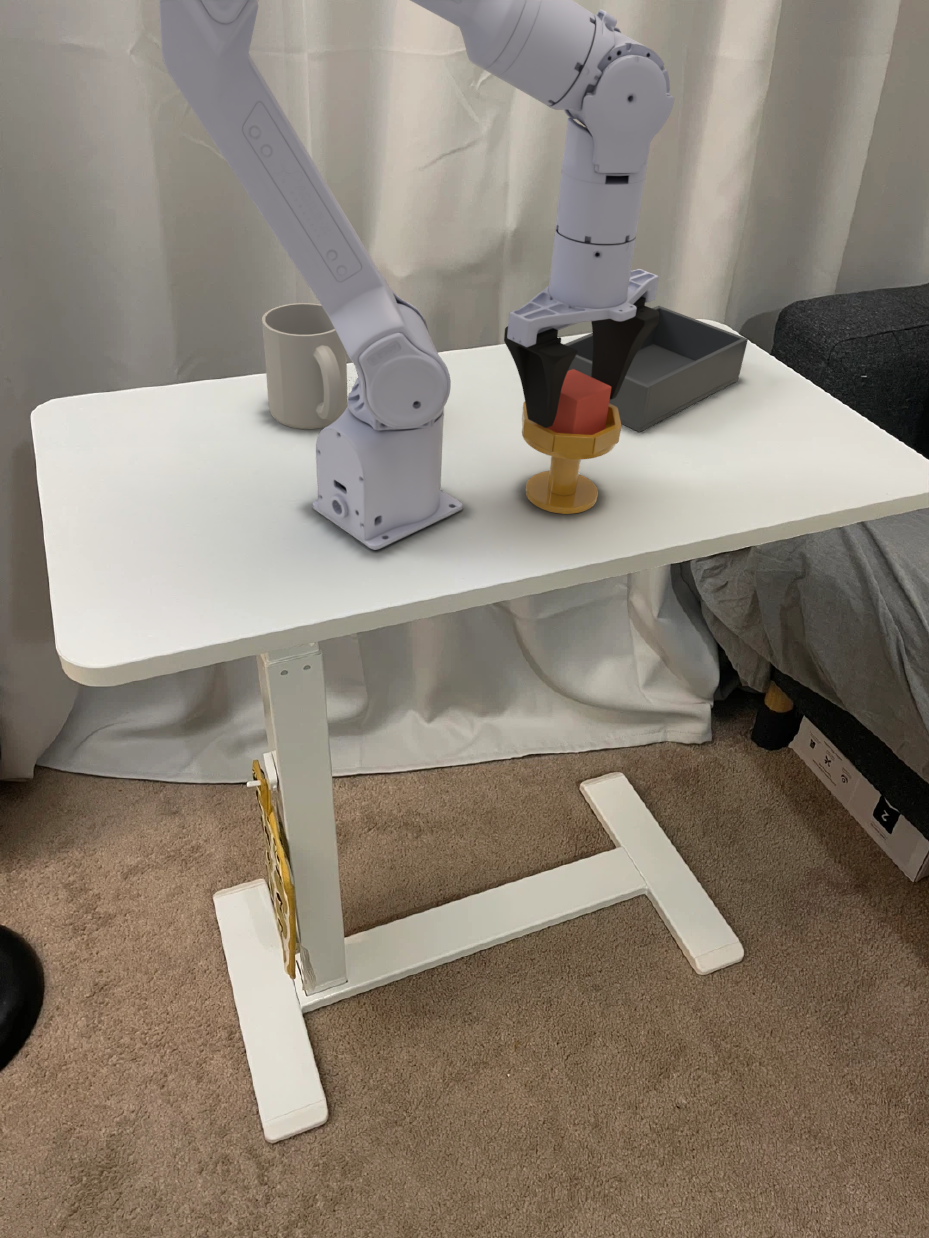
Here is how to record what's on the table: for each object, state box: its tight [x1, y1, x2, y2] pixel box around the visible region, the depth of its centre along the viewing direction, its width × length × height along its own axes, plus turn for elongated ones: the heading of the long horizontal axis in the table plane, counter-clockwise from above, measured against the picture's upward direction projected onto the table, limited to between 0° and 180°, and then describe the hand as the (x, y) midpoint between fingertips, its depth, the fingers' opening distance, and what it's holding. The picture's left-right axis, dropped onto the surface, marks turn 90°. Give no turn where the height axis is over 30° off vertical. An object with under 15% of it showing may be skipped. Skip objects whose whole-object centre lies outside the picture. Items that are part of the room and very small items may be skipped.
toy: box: [548, 369, 611, 435], centre depth 79 cm, size 4×4×4 cm
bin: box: [563, 305, 749, 433], centre depth 99 cm, size 17×11×4 cm, turn 136°
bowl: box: [521, 401, 622, 515], centre depth 81 cm, size 8×8×8 cm
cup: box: [261, 302, 348, 430], centre depth 89 cm, size 7×10×9 cm
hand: (572, 407), depth 79 cm, fingers open, 7 cm apart
